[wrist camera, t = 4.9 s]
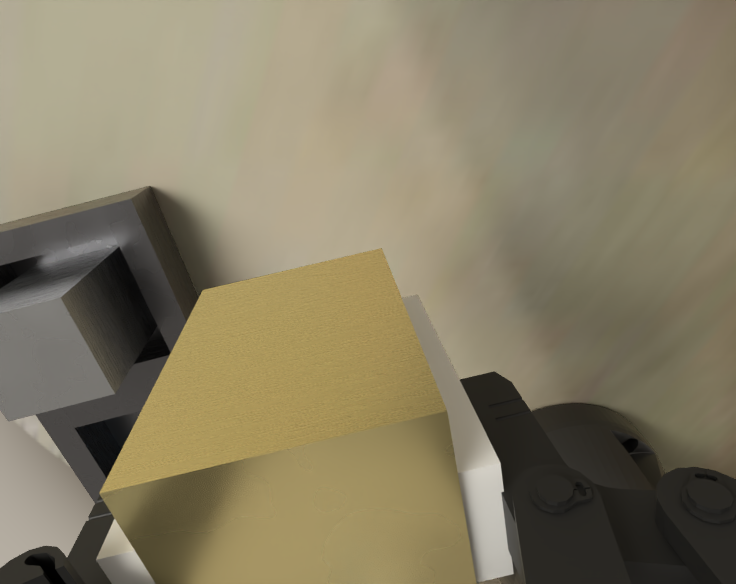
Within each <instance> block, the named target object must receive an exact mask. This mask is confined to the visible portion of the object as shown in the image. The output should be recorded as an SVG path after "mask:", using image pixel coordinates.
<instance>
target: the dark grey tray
mask: <svg viewBox="0 0 736 584" xmlns="http://www.w3.org/2000/svg"><path fill="white" fill-rule="evenodd" d="M116 245H119V247H120V249H121V251H122V253H123V255H124V257H125V259H126V261H127V263H128V265H129V268H130V270H131V272H132V274H133V276H134V278H135V280H136V282H137V284H138V286H139V288H140V290H141V292H142V294H143V296H144V299H145V301H146V303H147V305H148V307H149V309H150V311H151V313H152V315H153V317H154V319H155V321H156V323H157V325H158V326H157V327H156V329H155V331H154V332H153V334H152V335H151V337H150V339H149V340H148V342H147V344H146V345H145V347H144V348H143V350H142V352H141V353H140V355H139V356H138V358H137V360H136V361H135V363H134V364H133V366H132V368H131V369H130V371H129V372H128V374H127V376H126V377H125V379H124V380H123V382H122V384H121V385H120V387H119V388H118V390H117V392H116V393H115V394H113V395H109V396H105V397H101V398H97V399H94V400H90V401H86V402H82V403H78V404H74V405H70V406H66V407H63V408H59V409H55V410H51V411H47V412H43V413H39V414H36V416H37V417H38V419H39V420H40V422H41V423H42V425H43V426H44V428H45V429H46V431H47V432H48V434H49V435H50V437H51V438H52V440H53V441H54V443H55V444H56V446H57V447H58V449H59V450H60V452H61V453H62V455H63V456H64V458H65V459H66V461H67V462H68V463H69V465H70V466H71V468H72V469H73V471H74V472H75V474H76V475H77V477H78V478H79V480H80V481H81V483H82V484H83V486H84V487H85V489H86V490H87V492H88V493H89V495H90V496H91V498H92V499H93V501H94V502H95V504H97V499H98V497H99V495H100V494H99V493H100V491H101V489H102V487H103V485H104V483H105V481H106V479H107V477H108V475H109V473H110V471H111V469H112V467H113V465H114V463H115V462H116V460H117V458H118V456H119V454H120V452H121V450H122V448H123V446H124V444H125V442H126V440H127V438H128V436H129V434H130V432H131V430H132V428H133V426H134V424H135V422H136V420H137V418H138V416H139V414H140V412H141V411H142V409H143V407H144V405H145V403H146V401H147V399H148V397H149V395H150V393H151V391H152V389H153V387H154V385H155V383H156V381H157V379H158V377H159V375H160V373H161V371H162V369H163V367H164V365H165V363H166V361H167V359H168V358H169V356H170V354H171V352H172V350H173V348H174V346H175V344H176V342H177V340H178V338H179V336H180V334H181V332H182V330H183V328H184V326H185V324H186V322H187V320H188V318H189V316H190V314H191V312H192V310H193V308H194V307H195V305H196V303H197V301H198V299H199V298H198V296H197V294H196V291H195V289H194V287H193V284H192V282H191V280H190V277H189V275H188V273H187V270H186V268H185V266H184V263H183V261H182V259H181V256H180V254H179V252H178V249H177V247H176V245H175V242H174V240H173V238H172V235H171V233H170V231H169V228H168V226H167V224H166V221H165V219H164V217H163V215H162V212H161V210H160V208H159V205H158V203H157V201H156V198H155V196H154V194H153V191H152V189H151V187H150V186H148V187H144V188H140V189H136V190H132V191H128V192H124V193H121V194H117V195H113V196H109V197H105V198H101V199H97V200H93V201H89V202H86V203H82V204H78V205H74V206H70V207H66V208H62V209H58V210H54V211H51V212H47V213H43V214H39V215H35V216H31V217H27V218H23V219H20V220H16V221H12V222H8V223H4V224H0V289H1V288H2V287H4V286H5V285H7V284H8V283H10V282H11V281H13V280H14V279H16V278H17V277H19V276H20V275H22V274H23V273H25V272H26V271H27V270H29V269H30V268H32V267H35V266H38V265H42V264H46V263H50V262H54V261H58V260H62V259H66V258H69V257H73V256H77V255H81V254H85V253H89V252H93V251H97V250H101V249H104V248H108V247H112V246H116Z"/></svg>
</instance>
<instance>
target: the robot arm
mask: <svg viewBox="0 0 736 584" xmlns="http://www.w3.org/2000/svg"><path fill="white" fill-rule="evenodd" d="M402 300H403V303H404V305H405V308H406V310H407V313H408V315H409V317H410V320H411V322H412V325H413V327H414V330H415V332H416V335H417V337H418V340H419V342H420V345H421V347H422V350H423V352H424V355H425V357H426V360H427V362H428V364H429V367H430V369H431V372H432V374H433V377H434V379H435V382H436V384H437V387H438V389H439V392H440V394H441V397H442V399H443V402H444V404H445V407H446V409H447V412H448V418H449V424H450V430H451V436H452V442H453V448H454V454H455V460H456V465H457V471H458V477H459V483H460V489H461V495H462V501H463V507H464V513H465V518H466V524H467V530H468V536H469V542H470V548H471V554H472V560H473V566H474V571H475V577H476V583H479V582H483V581H487V580H491V579H495V578H499V580H500V581H501V582H502V584H736V479H734V478H731V477H729V476H727V475H724V474H722V473H720V472H717V471H714V470H709V469H703V468H698V467H689V468H677V469H675V470H673V471H670V472H668V473H666V474H665V472H664V470H663V467H662V465H661V463H660V460H659V458H658V456H657V454H656V453H655V451H654V449H653V448H652V446H651V445H650V444H649V442H648V441H647V440H646V439H645V438H644V437H643V436H642V435H641V434H640V433H639V431H638V430H637V429H636V428H635V427H634V426H633V425H632V424H631V423H630V422H629V421H628V420H627V419H625V418H624V417H623V416H621V415H620V414H618V413H616V412H614V411H612V410H609V409H606V408H603V407H600V406H595V405H589V404H563V405H556V406H551V407H546V408H543V409H539V410H536V411H533V412H530V409H529V408H528V406H527V405H526V403H525V402H524V401H523V400H522V397H521V396H520V394H519V393H518V391H517V390H516V388H515V387H514V385H513V384H512V382H510V381H509V380H507V379H506V378H504V377H502V376H501V375H499V374H498V373H496V372H490V373H486V374H482V375H478V376H473V377H469V378H465V379H461V380H459V378H458V376H457V374H456V372H455V370H454V368H453V365H452V363H451V361H450V359H449V357H448V355H447V353H446V351H445V349H444V347H443V345H442V343H441V341H440V339H439V337H438V335H437V333H436V331H435V329H434V327H433V325H432V323H431V321H430V319H429V317H428V315H427V313H426V311H425V309H424V307H423V305H422V303H421V301H420V298H419V296H418V295H413V296H409V297H405V298H402ZM0 584H155V582H154V580H153V579H152V577H151V576H150V574H149V572H148V571H147V569H146V568H145V566H144V564H143V563H142V561H141V560H140V558H139V556H138V555H137V553H136V552H135V550H134V548H133V547H132V545H131V544H130V542H129V540H128V539H127V537H126V536H125V534H124V533H123V531H122V529H121V528H120V526H119V525H118V523H117V521H116V520H115V518H114V517H113V515H112V513H111V512H110V510H109V509H108V507H107V505H106V504H105V502H104V501H103V499H102V497H101V496H100V495H99V497H98V499H97V504H95V505H94V507H93V509H92V511H91V513H90V515H89V521H86V523H85V525H84V526H83V528H82V530H81V532H80V534H79V536H78V538H77V540H76V542H75V544H74V546H73V548H72V550H71V552H70V554H69V556H68V557H67V558H66V556H65V555H64V553H63V552H62V551H61V550H60V549H59V548H58V547H52V546H43V547H39V548H36V549H32V550H29V551H27V552H25V553H23V554H21V555H19V556H18V557H16V558H14V559H12V560H10V561H9V562H8V563H6V564H5V565H4V566H3V567H1V568H0Z"/></svg>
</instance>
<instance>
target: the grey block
mask: <svg viewBox="0 0 736 584" xmlns="http://www.w3.org/2000/svg"><path fill="white" fill-rule="evenodd" d="M157 326H158V325H157V323H156V321H155V319H154V317H153V315H152V313H151V311H150V309H149V307H148V305H147V303H146V301H145V299H144V296H143V294H142V292H141V290H140V288H139V286H138V284H137V282H136V280H135V278H134V276H133V274H132V272H131V270H130V268H129V265H128V263H127V261H126V259H125V257H124V255H123V253H122V251H121V249H120V247H119V245H116V246H112V247H108V248H104V249H101V250H97V251H93V252H89V253H85V254H81V255H77V256H73V257H69V258H66V259H62V260H58V261H54V262H50V263H46V264H42V265H38V266H35V267H32V268H30V269H29V270H27V271H26V272H25V273H23V274H22V275H20V276H19V277H17V278H16V279H14V280H13V281H11V282H10V283H8V284H7V285H5V286H4V287H2V288H1V289H0V411H1V412H2V413H3V415H4V416H5V418H6V419H7V420H8V421H12V420H16V419H20V418H24V417H28V416H32V415H35V414H39V413H43V412H47V411H51V410H55V409H59V408H63V407H66V406H70V405H74V404H78V403H82V402H86V401H90V400H94V399H97V398H101V397H105V396H109V395H113V394H115V393H116V392H117V390H118V388H119V387H120V385H121V384H122V382H123V380H124V379H125V377H126V376H127V374H128V372H129V371H130V369H131V368H132V366H133V364H134V363H135V361H136V360H137V358H138V356H139V355H140V353H141V352H142V350H143V348H144V347H145V345H146V344H147V342H148V340H149V339H150V337H151V335H152V334H153V332H154V331H155V329H156V327H157Z"/></svg>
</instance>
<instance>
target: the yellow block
mask: <svg viewBox="0 0 736 584" xmlns="http://www.w3.org/2000/svg"><path fill="white" fill-rule="evenodd" d="M99 494H100V496H101V497H102V499H103V501H104V502H105V504H106V505H107V507H108V509H109V510H110V512H111V513H112V515H113V517H114V518H115V520H116V521H117V523H118V525H119V526H120V528H121V529H122V531H123V533H124V534H125V536H126V537H127V539H128V540H129V542H130V544H131V545H132V547H133V548H134V550H135V552H136V553H137V555H138V556H139V558H140V560H141V561H142V563H143V564H144V566H145V568H146V569H147V571H148V572H149V574H150V576H151V577H152V579H153V580H154V582H155V584H477V583H476V577H475V571H474V566H473V560H472V554H471V548H470V542H469V536H468V530H467V524H466V518H465V513H464V507H463V501H462V495H461V489H460V483H459V477H458V471H457V465H456V460H455V454H454V448H453V442H452V436H451V430H450V424H449V418H448V412H447V409H446V407H445V404H444V402H443V399H442V397H441V394H440V392H439V389H438V387H437V384H436V382H435V379H434V377H433V374H432V372H431V369H430V367H429V364H428V362H427V360H426V357H425V355H424V352H423V350H422V347H421V345H420V342H419V340H418V337H417V335H416V332H415V330H414V327H413V325H412V322H411V320H410V317H409V315H408V313H407V310H406V308H405V305H404V303H403V300H402V298H401V295H400V293H399V290H398V288H397V285H396V283H395V280H394V278H393V275H392V273H391V270H390V268H389V266H388V263H387V261H386V258H385V256H384V253H383V251H382V248H381V249H376V250H372V251H368V252H363V253H359V254H355V255H351V256H346V257H342V258H338V259H334V260H329V261H325V262H321V263H316V264H312V265H308V266H304V267H299V268H295V269H291V270H286V271H282V272H278V273H274V274H269V275H265V276H261V277H256V278H252V279H248V280H244V281H239V282H235V283H231V284H226V285H222V286H218V287H214V288H209V289H205V290H203V291H202V293H201V295H200V297H199V299H198V301H197V303H196V305H195V307H194V308H193V310H192V312H191V314H190V316H189V318H188V320H187V322H186V324H185V326H184V328H183V330H182V332H181V334H180V336H179V338H178V340H177V342H176V344H175V346H174V348H173V350H172V352H171V354H170V356H169V358H168V359H167V361H166V363H165V365H164V367H163V369H162V371H161V373H160V375H159V377H158V379H157V381H156V383H155V385H154V387H153V389H152V391H151V393H150V395H149V397H148V399H147V401H146V403H145V405H144V407H143V409H142V411H141V412H140V414H139V416H138V418H137V420H136V422H135V424H134V426H133V428H132V430H131V432H130V434H129V436H128V438H127V440H126V442H125V444H124V446H123V448H122V450H121V452H120V454H119V456H118V458H117V460H116V462H115V463H114V465H113V467H112V469H111V471H110V473H109V475H108V477H107V479H106V481H105V483H104V485H103V487H102V489H101V491H100V493H99Z"/></svg>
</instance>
